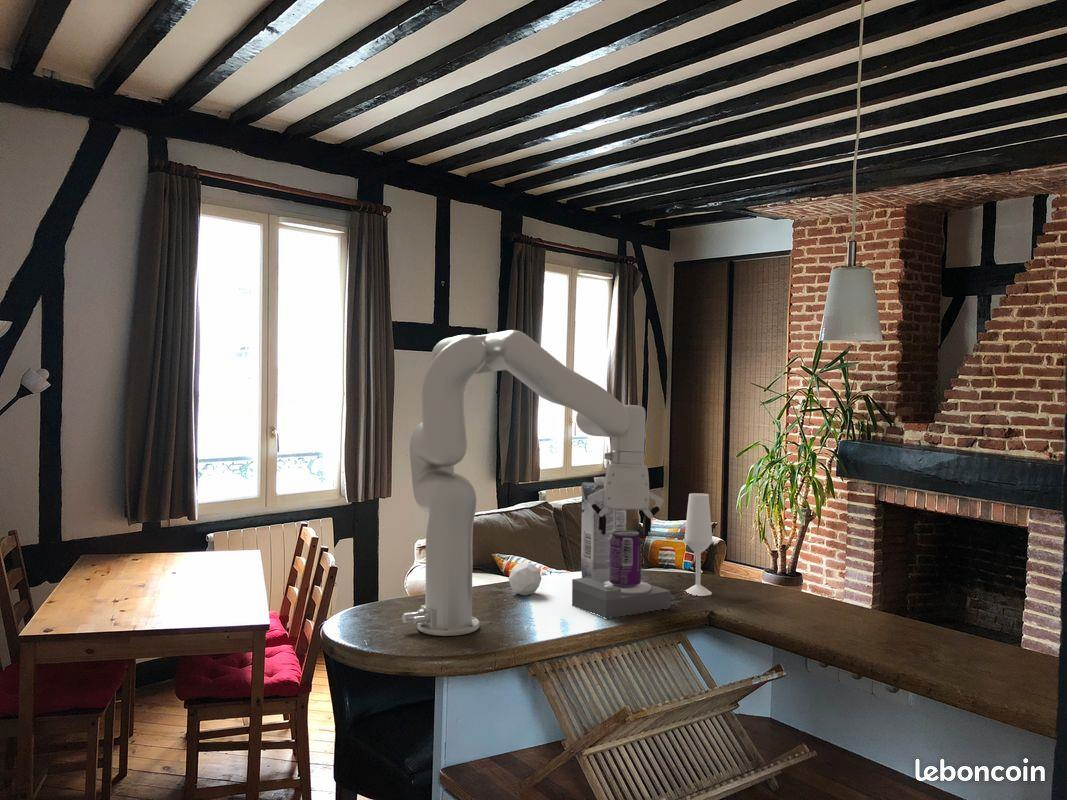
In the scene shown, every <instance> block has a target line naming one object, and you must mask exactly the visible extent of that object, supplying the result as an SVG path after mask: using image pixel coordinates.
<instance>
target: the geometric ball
mask: <svg viewBox="0 0 1067 800" xmlns="http://www.w3.org/2000/svg"><path fill="white" fill-rule="evenodd" d="M508 576H509V577H508V582H509V585H510V588H511V589H512V591H514V592H515V593H516V594H517V595H522V596H528V595H532V594H535V593H536V591H537V590H538V589H539V586H540V585H541V582H542V575H541V572H540V569H539V568H538V567H537V566H536V565H535V564H534V563H530V562H526V561H524V562H519V563H516V564H515V565H514V567H513V568H511V571H510V573H509V575H508Z"/></svg>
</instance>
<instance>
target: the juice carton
mask: <svg viewBox="0 0 1067 800" xmlns="http://www.w3.org/2000/svg"><path fill="white" fill-rule="evenodd" d="M593 480H594V482H593V481H591V482H589V481H586V482H585V481H584V482H582V483H581V539H580V540H581V544H580V545H581V550H580V551H581V552H580V553H581V555H580V557H581V558H580V560H581V561H580V564H581V565H580V567H581V578H586V577H587V578H590V579H593V580H596V581H599V582H602V583H604V582H607V581H609V572H610V538H611V536H612V532H613V531H618V530H627V510H618V509H609V510H608V511H607V512H606V514H605V517H606V534H605V535H603V534H602V533H601V530H599V515H598V514H597V513H596V512H595V511H594V509H593V508H592V507H591V504H590V502H589V500H588V496H589V495H591V494H593V493H595V492H597V491H600V490H602V489H604V481H605V476H598V477H595V476H594V477H593ZM595 502H596V504H597V506H598V507H599V508H601V507H602V506H603V505H604V503H603V496H601V497H599V498H597V499H595Z"/></svg>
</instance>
